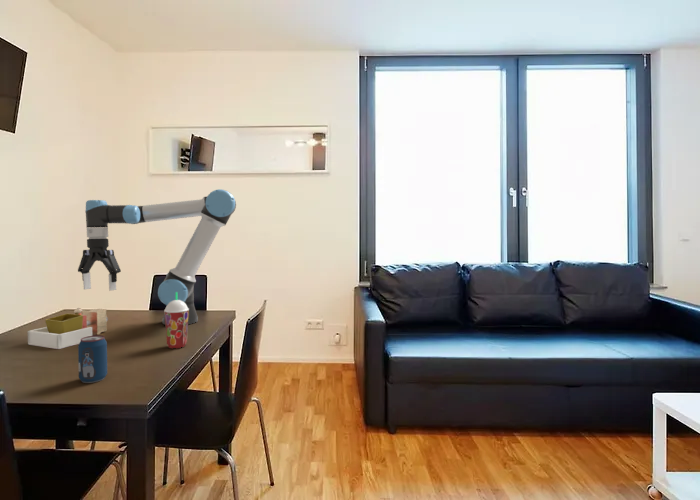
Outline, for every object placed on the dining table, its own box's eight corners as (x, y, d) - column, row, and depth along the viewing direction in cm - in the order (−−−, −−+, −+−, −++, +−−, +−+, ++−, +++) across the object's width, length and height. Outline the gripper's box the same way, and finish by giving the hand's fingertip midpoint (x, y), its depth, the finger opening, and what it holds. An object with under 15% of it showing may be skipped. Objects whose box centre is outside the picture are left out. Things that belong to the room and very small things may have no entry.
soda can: (104, 373, 123) (103, 333, 122) (110, 379, 118) (109, 338, 117) (76, 378, 118) (75, 337, 117) (81, 385, 113) (80, 342, 112)
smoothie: (194, 344, 154) (193, 291, 153) (177, 350, 146) (177, 294, 145) (176, 342, 157) (175, 290, 156) (159, 348, 149) (158, 293, 148)
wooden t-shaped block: (114, 330, 172) (113, 303, 171) (83, 338, 159) (83, 309, 158) (98, 329, 175) (97, 302, 174) (67, 336, 162) (66, 307, 161)
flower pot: (63, 345, 152) (61, 321, 151) (46, 342, 154) (44, 319, 153) (85, 337, 160) (83, 315, 159) (68, 335, 163) (66, 313, 162)
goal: (92, 340, 159) (92, 327, 158) (58, 349, 146) (58, 335, 146) (62, 336, 164) (62, 323, 164) (27, 344, 152) (27, 330, 151)
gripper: (66, 238, 169) (68, 289, 170) (113, 238, 161) (115, 292, 163) (83, 237, 176) (85, 287, 177) (129, 237, 169) (131, 289, 170)
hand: (99, 289), depth 170 cm, fingers open, 13 cm apart
